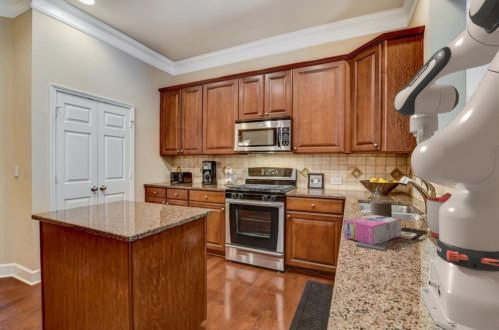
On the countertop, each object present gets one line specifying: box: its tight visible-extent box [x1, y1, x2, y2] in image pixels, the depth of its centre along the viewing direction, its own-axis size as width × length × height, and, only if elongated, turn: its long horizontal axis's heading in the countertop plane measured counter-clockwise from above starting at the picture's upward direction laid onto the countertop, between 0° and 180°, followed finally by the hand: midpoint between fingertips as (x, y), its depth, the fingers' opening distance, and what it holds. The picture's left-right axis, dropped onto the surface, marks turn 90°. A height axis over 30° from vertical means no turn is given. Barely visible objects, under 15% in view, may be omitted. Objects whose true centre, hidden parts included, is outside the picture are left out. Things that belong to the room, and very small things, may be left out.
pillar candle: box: [369, 199, 393, 217], centre depth 123 cm, size 10×10×15 cm
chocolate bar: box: [398, 227, 426, 241], centre depth 113 cm, size 9×1×18 cm
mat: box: [355, 240, 390, 252], centre depth 104 cm, size 24×10×1 cm, turn 144°
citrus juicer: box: [425, 192, 452, 239], centre depth 107 cm, size 16×17×20 cm
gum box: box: [343, 213, 402, 245], centre depth 108 cm, size 24×8×14 cm
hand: (424, 163), depth 92 cm, fingers open, 8 cm apart
